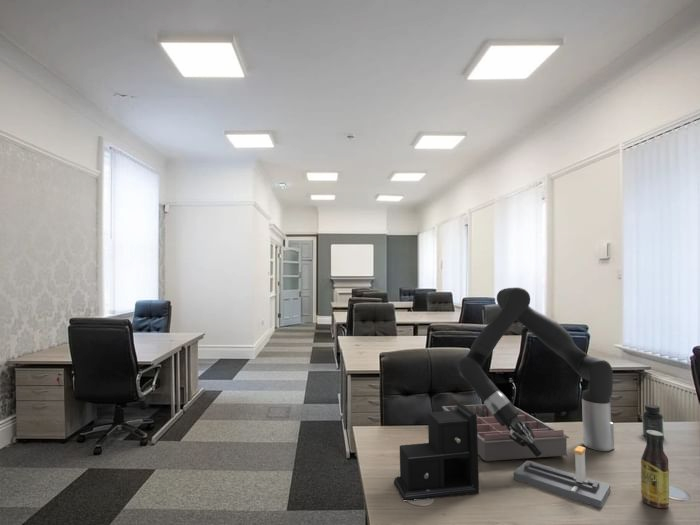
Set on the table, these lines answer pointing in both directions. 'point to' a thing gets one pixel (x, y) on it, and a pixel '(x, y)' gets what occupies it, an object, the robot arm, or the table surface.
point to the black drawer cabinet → (442, 458)
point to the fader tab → (580, 465)
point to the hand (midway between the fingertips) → (539, 454)
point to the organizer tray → (502, 447)
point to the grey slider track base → (562, 483)
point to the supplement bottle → (652, 419)
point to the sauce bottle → (655, 471)
